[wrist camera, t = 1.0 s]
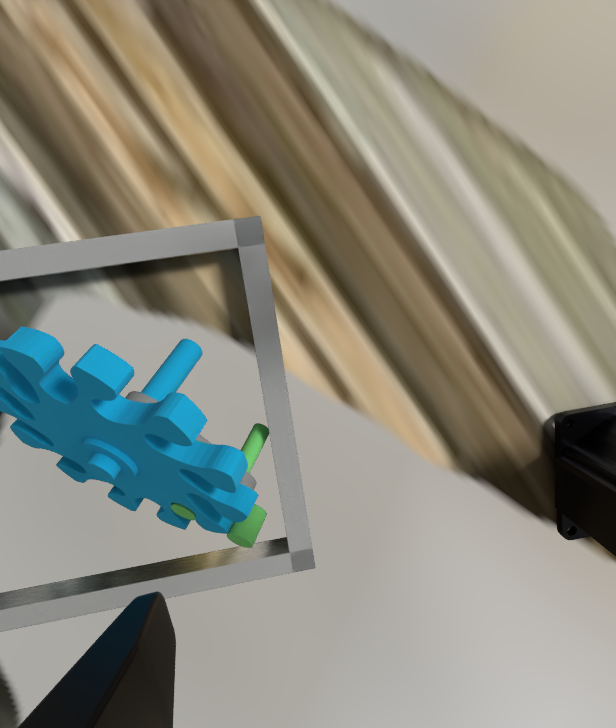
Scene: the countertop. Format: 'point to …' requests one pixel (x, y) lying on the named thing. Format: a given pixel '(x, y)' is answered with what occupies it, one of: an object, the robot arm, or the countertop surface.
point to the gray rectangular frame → (297, 546)
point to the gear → (131, 433)
